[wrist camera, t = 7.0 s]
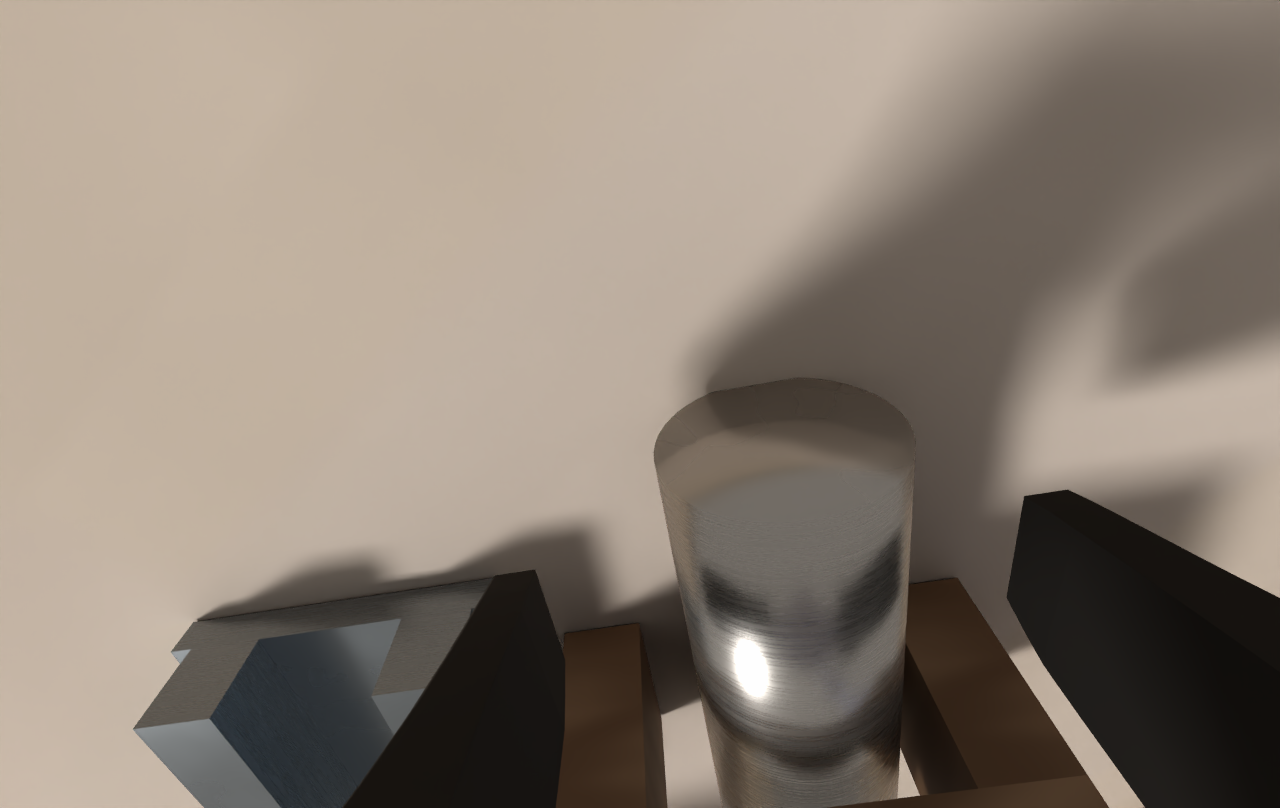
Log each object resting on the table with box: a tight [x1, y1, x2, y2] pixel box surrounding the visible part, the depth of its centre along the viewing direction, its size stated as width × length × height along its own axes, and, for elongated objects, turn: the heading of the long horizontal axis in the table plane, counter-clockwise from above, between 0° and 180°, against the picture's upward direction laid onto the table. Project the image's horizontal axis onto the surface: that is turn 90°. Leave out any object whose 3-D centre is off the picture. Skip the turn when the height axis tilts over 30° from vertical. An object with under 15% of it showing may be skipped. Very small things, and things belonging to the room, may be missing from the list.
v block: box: [133, 578, 493, 808], centre depth 14 cm, size 7×8×3 cm
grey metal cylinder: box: [654, 378, 916, 808], centre depth 12 cm, size 10×4×4 cm, turn 10°
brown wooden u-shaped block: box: [556, 578, 1109, 808], centre depth 13 cm, size 9×4×5 cm, turn 99°
